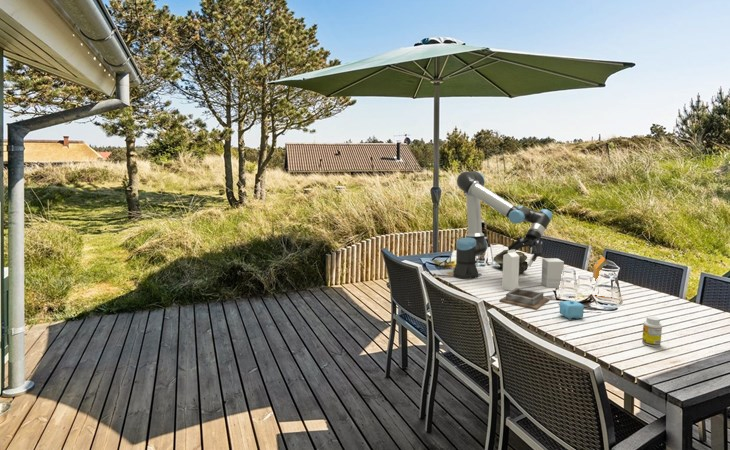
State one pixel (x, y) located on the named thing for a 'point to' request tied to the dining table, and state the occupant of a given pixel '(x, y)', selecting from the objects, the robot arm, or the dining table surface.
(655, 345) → the supplement bottle
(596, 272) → the orange juice
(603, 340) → the dining table surface
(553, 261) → the supplement box
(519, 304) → the holder
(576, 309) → the light blue block
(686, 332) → the dining table surface
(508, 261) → the milk
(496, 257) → the hollow geode rock
